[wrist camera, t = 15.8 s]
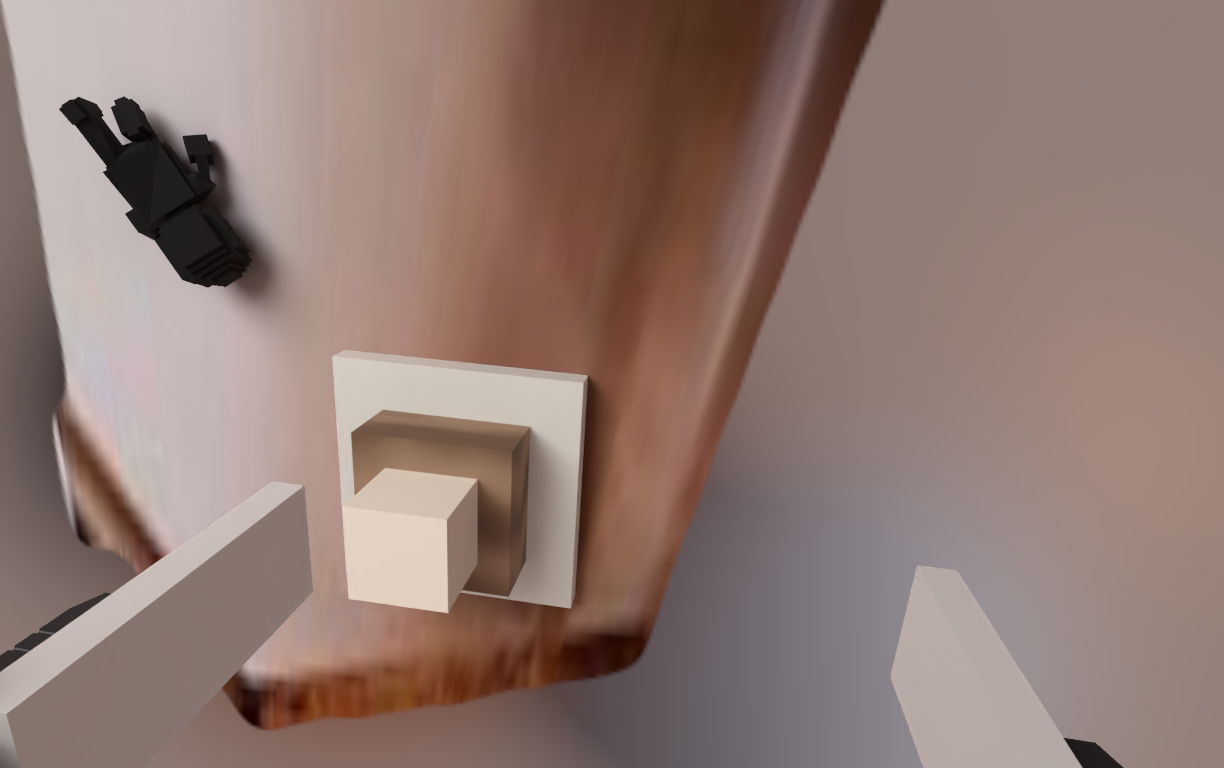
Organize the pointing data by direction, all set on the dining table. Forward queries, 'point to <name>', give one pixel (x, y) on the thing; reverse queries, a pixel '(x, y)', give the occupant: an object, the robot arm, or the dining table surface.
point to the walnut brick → (461, 453)
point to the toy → (164, 192)
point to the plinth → (491, 397)
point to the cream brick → (411, 539)
